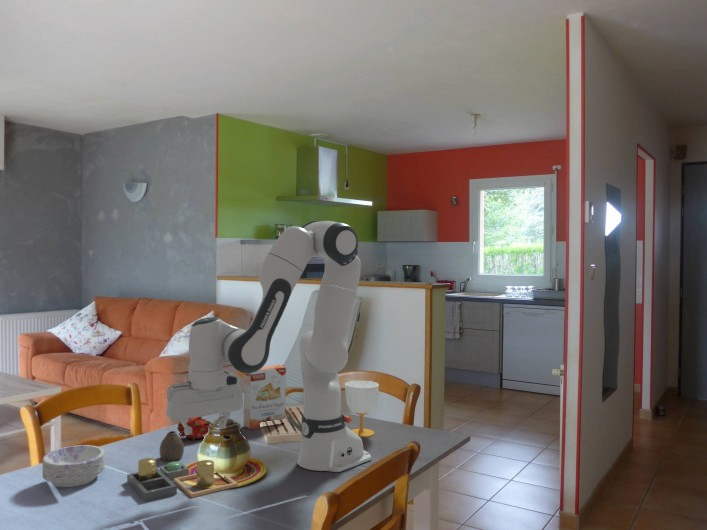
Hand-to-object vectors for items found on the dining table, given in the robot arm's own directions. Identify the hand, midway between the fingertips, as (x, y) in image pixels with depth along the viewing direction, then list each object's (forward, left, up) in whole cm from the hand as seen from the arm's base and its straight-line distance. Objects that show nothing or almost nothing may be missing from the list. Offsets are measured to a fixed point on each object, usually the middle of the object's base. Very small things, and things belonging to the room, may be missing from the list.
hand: (205, 431), depth 160 cm
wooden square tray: (0, 0, -15) cm, 15 cm away
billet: (0, 0, -14) cm, 14 cm away
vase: (0, -24, -15) cm, 28 cm away
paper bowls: (+27, -23, -15) cm, 39 cm away
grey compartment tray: (+12, -5, -15) cm, 20 cm away
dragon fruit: (-14, -41, -15) cm, 46 cm away
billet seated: (+12, -9, -14) cm, 21 cm away
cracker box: (-40, -41, -15) cm, 59 cm away
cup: (-63, -14, -15) cm, 66 cm away
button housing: (+4, -11, -15) cm, 19 cm away
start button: (+4, -11, -14) cm, 18 cm away
